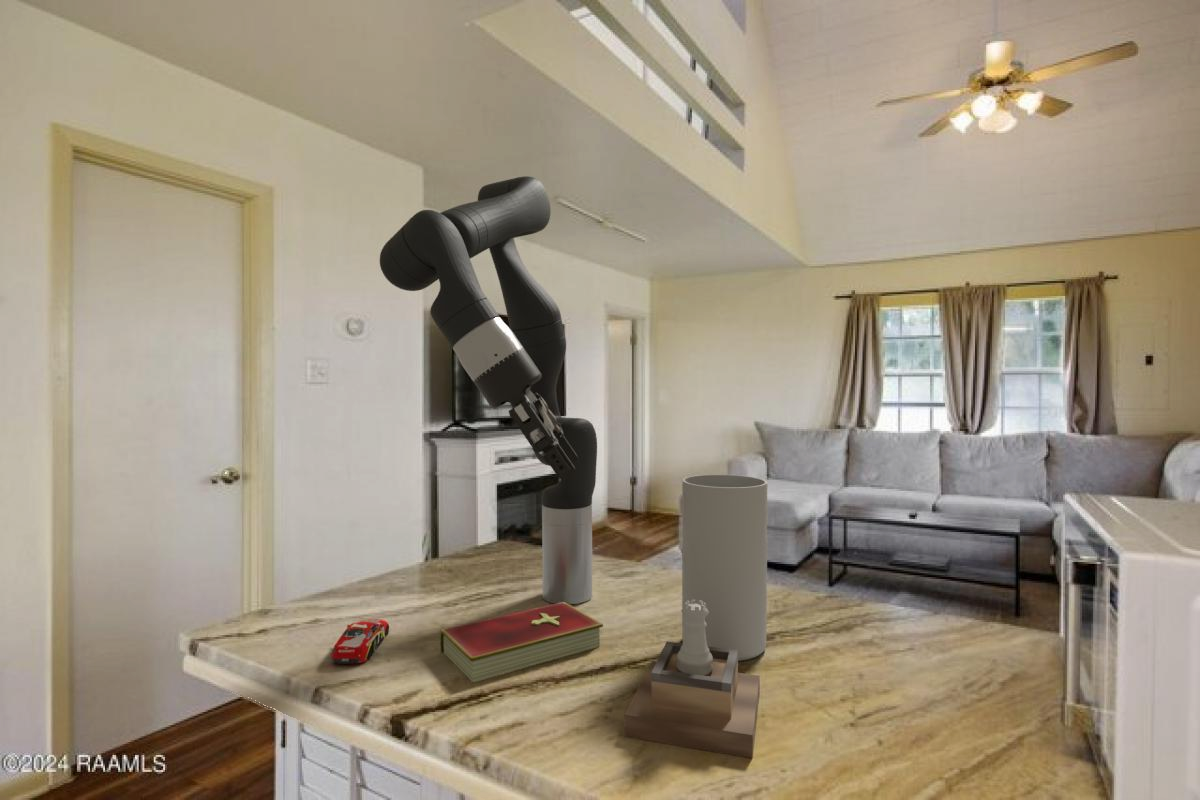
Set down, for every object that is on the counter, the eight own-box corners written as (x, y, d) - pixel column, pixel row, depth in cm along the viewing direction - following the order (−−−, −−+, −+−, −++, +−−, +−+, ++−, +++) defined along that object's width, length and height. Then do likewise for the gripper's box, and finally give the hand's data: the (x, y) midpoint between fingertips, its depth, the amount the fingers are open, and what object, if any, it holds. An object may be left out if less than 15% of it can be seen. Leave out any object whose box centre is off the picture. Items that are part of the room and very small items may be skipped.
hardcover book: (440, 655, 93) (439, 627, 92) (562, 624, 104) (562, 599, 104) (471, 688, 83) (470, 656, 82) (603, 649, 94) (603, 622, 94)
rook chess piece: (714, 679, 72) (714, 611, 72) (675, 676, 73) (675, 609, 73) (713, 662, 77) (713, 598, 76) (676, 660, 77) (677, 595, 77)
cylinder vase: (772, 636, 98) (773, 477, 97) (757, 670, 86) (758, 490, 86) (695, 623, 103) (695, 472, 102) (671, 653, 92) (671, 484, 91)
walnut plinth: (651, 679, 84) (651, 631, 84) (759, 694, 80) (759, 644, 79) (624, 736, 70) (624, 679, 70) (752, 758, 66) (752, 697, 66)
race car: (359, 632, 101) (359, 607, 101) (393, 632, 101) (393, 607, 101) (324, 669, 88) (324, 641, 88) (363, 669, 88) (363, 640, 88)
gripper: (514, 345, 71) (594, 462, 72) (528, 346, 85) (595, 444, 86) (459, 382, 71) (540, 498, 72) (483, 377, 85) (550, 474, 86)
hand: (570, 468), depth 79 cm, fingers open, 8 cm apart
